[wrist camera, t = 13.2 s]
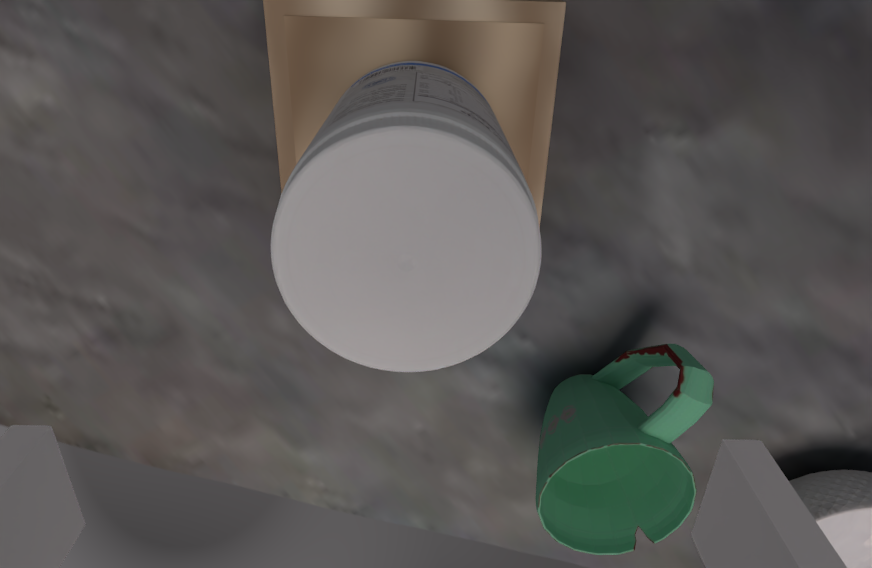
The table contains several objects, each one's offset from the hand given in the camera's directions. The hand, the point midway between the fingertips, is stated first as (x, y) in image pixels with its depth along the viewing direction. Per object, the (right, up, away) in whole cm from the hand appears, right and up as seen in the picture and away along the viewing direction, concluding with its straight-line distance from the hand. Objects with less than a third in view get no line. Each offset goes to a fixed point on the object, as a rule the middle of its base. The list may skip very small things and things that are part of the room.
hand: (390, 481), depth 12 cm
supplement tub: (0, +12, +21) cm, 24 cm away
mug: (+13, -3, +33) cm, 36 cm away
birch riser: (0, +13, +24) cm, 28 cm away
